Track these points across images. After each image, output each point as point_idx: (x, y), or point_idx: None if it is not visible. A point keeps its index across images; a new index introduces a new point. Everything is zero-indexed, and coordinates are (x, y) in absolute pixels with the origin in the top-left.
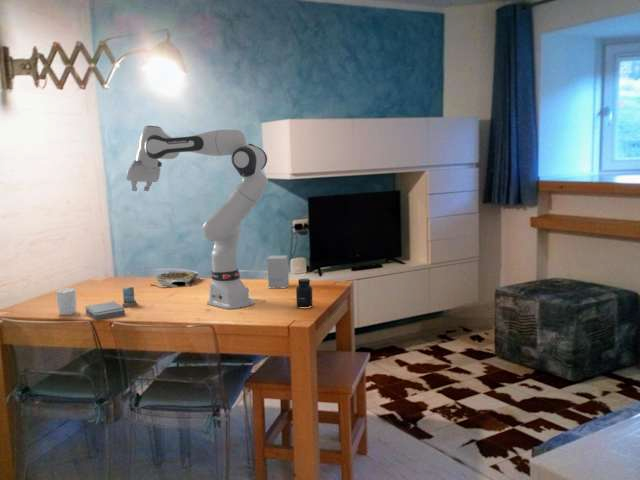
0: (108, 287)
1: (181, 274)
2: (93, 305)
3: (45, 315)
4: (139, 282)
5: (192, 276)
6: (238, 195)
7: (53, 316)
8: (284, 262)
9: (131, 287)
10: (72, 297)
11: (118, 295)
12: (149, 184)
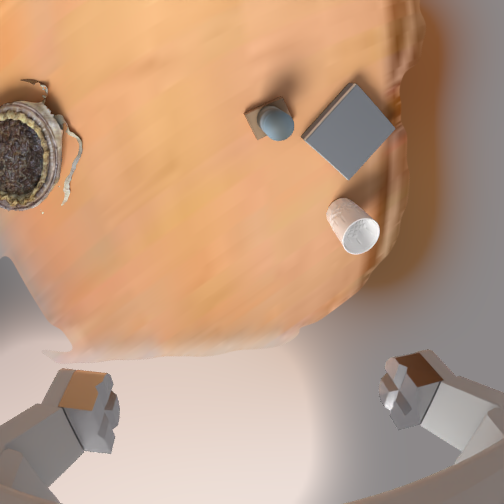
0: (122, 277)
1: None
2: (342, 166)
3: None
4: (56, 243)
5: (4, 111)
6: None
7: None
8: None
9: (271, 120)
10: (362, 211)
11: (183, 204)
12: (24, 454)
